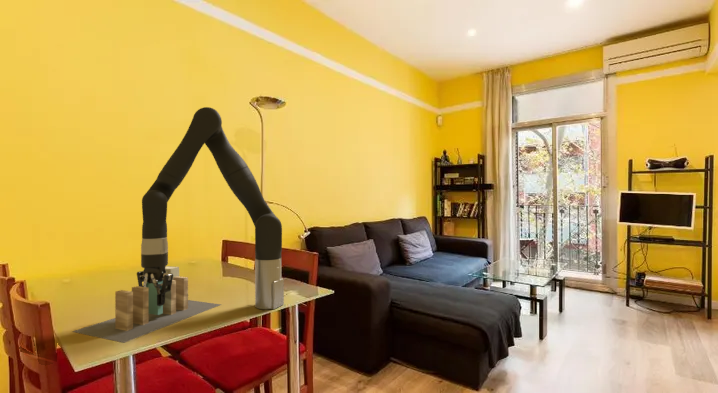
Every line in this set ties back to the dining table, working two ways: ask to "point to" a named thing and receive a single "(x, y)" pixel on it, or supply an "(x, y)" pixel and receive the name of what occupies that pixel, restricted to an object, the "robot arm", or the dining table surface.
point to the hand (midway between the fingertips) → (154, 304)
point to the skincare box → (172, 270)
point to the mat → (154, 323)
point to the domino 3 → (154, 300)
